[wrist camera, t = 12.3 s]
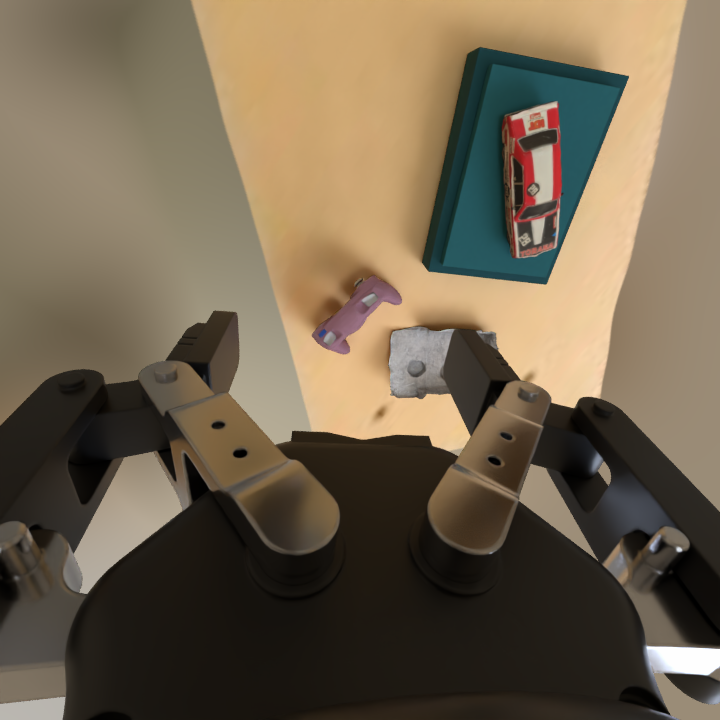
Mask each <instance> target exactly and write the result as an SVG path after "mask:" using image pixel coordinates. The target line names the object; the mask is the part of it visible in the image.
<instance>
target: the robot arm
mask: <svg viewBox="0 0 720 720" xmlns="http://www.w3.org/2000/svg"><path fill="white" fill-rule="evenodd" d="M238 364H239V334H238V317H237V313H236V312H227V311H213V313H212V315H211V316H210V318H209V320H208V321H207V323H197V324H195V325H193V326H192V327H190V328H188V329H187V330H186V331H185V333H184V334H183V336H182V338H181V339H180V340H179V341H178V344H177V345H176V346H175V347H174V349H173V350H172V352H171V353H170V355H169V356H168V357H167V359H166V360H165V361H161V362H157V363H154V364H151V365H149V366H147V367H145V368H144V369H142V370H141V372H140V373H139V375H138V380H135V381H129V382H122V383H114V384H105V380H104V377H103V375H102V374H101V373H99V372H97V371H94V370H85V369H81V370H72V371H67V372H63V373H60V374H57V375H55V376H53V377H51V378H49V379H47V380H46V381H44V382H43V383H42V384H41V385H40V386H39V387H38V388H37V389H36V390H35V391H34V392H33V393H32V394H31V395H30V397H28V398H27V399H26V400H25V401H24V402H23V403H22V404H21V405H20V406H19V407H18V408H17V409H16V411H14V412H13V413H12V415H10V416H9V418H7V420H5V422H4V423H3V424H2V425H1V426H0V704H3V703H12V702H21V701H30V700H39V699H48V698H56V697H66V698H65V708H64V715H63V720H679V719H677V718H675V717H672V716H671V715H670V713H669V712H668V710H667V707H666V706H665V703H664V701H663V699H662V696H661V694H660V691H659V689H658V686H657V683H656V680H655V677H654V675H653V673H664V674H665V675H666V677H667V678H668V679H669V680H670V681H671V682H672V683H673V684H674V685H675V686H676V687H677V688H679V689H680V690H681V691H682V692H683V693H685V694H687V695H688V696H689V697H691V698H693V699H695V700H697V701H699V702H702V703H706V704H717V703H720V512H719V511H718V510H717V509H716V508H715V506H713V504H712V503H711V502H710V501H709V500H708V499H707V498H706V497H705V496H704V495H703V494H702V493H701V492H700V491H699V490H698V489H697V488H696V487H695V486H694V485H693V484H692V483H691V482H690V481H689V479H688V478H687V477H686V476H685V475H684V474H683V473H682V472H681V471H680V470H679V469H678V468H677V467H676V466H675V465H674V464H673V463H672V462H671V461H670V460H669V459H668V458H667V457H666V456H665V455H664V454H663V453H662V452H661V451H660V449H659V448H658V447H657V446H656V445H655V444H654V443H653V442H652V441H651V440H650V439H649V438H648V437H647V436H646V435H645V434H644V433H643V432H642V431H641V430H640V429H639V428H638V427H637V426H636V425H635V424H634V422H633V421H632V420H631V419H630V418H629V417H628V416H627V415H626V414H625V413H624V412H623V411H622V410H621V409H619V408H618V407H616V406H615V405H613V404H611V403H609V402H607V401H604V400H602V399H598V398H594V397H583V398H580V399H579V400H578V402H577V404H576V406H575V408H570V407H566V406H562V405H558V404H554V403H551V397H550V395H549V394H548V392H546V391H545V390H544V389H543V388H541V387H539V386H537V385H535V384H533V383H530V382H526V381H521V380H520V379H519V377H518V376H517V375H516V373H515V372H514V371H513V369H512V368H511V367H510V366H508V363H507V362H506V360H504V358H503V357H502V355H501V354H500V353H499V351H498V350H496V349H495V348H493V347H492V346H491V345H489V344H488V343H485V342H484V341H483V340H482V338H481V337H480V336H479V334H478V333H477V331H475V330H466V329H455V330H454V331H453V333H452V336H451V340H450V343H449V347H448V351H447V355H446V358H445V362H444V367H443V376H444V380H445V382H446V385H447V387H448V389H449V391H450V393H451V395H452V397H453V399H454V402H455V404H456V406H457V408H458V410H459V412H460V414H461V417H462V419H463V421H464V423H465V425H466V427H467V429H468V431H469V434H470V436H471V437H470V439H469V441H468V442H467V444H466V445H465V447H464V449H463V450H462V452H461V454H460V455H459V456H457V455H455V454H453V453H451V452H449V451H446V450H444V449H441V448H437V447H434V446H432V444H431V441H430V438H429V436H413V435H392V436H386V437H380V438H373V439H367V440H360V439H355V438H351V437H346V436H342V435H337V434H333V433H328V432H306V431H292V438H291V441H289V442H284V443H280V444H276V445H275V444H274V443H273V442H272V441H271V440H270V439H269V438H268V436H267V435H266V434H265V433H264V432H263V431H262V430H261V429H260V428H259V426H258V425H257V424H256V423H255V422H254V421H253V420H252V419H251V418H250V417H249V415H248V414H247V413H246V412H245V411H244V410H243V409H242V408H241V407H240V405H239V404H238V403H237V402H236V401H235V400H234V399H233V398H232V397H231V396H230V394H229V393H228V392H229V390H230V387H231V384H232V381H233V379H234V376H235V373H236V371H237V368H238ZM153 451H154V454H155V456H156V458H157V459H158V461H159V463H160V465H161V467H162V468H163V470H164V472H165V474H166V476H167V477H168V479H169V481H170V483H171V484H172V486H173V488H174V490H175V492H176V493H177V496H178V498H179V500H180V503H181V506H182V510H183V511H182V512H181V513H179V514H178V515H177V516H175V517H174V518H173V519H172V520H170V521H169V522H168V523H167V524H165V525H164V526H163V527H162V528H160V529H159V530H158V531H157V532H155V533H154V534H152V535H151V536H150V537H149V538H147V539H146V540H145V541H143V542H142V543H141V544H140V545H138V546H137V547H136V548H135V549H133V550H132V551H131V552H129V553H128V554H127V555H126V556H124V557H123V558H122V559H120V560H119V561H118V562H117V563H116V564H114V565H113V566H112V567H111V568H110V569H108V571H106V573H105V574H104V575H103V576H102V577H101V578H100V579H99V580H98V581H97V583H96V584H95V585H94V586H93V587H92V589H91V590H90V591H89V593H88V594H83V593H79V592H80V589H81V586H82V573H81V571H80V568H79V566H78V563H77V561H76V559H75V557H74V552H75V550H76V548H77V547H78V545H79V543H80V541H81V539H82V537H83V535H84V533H85V531H86V529H87V527H88V525H89V524H90V522H91V520H92V518H93V516H94V514H95V512H96V510H97V508H98V507H99V505H100V503H101V501H102V499H103V497H104V495H105V493H106V491H107V489H108V487H109V486H110V484H111V482H112V480H113V478H114V476H115V474H116V472H117V470H118V468H119V466H120V465H121V463H122V461H123V458H124V457H128V456H133V455H138V454H143V453H148V452H153ZM603 461H605V463H606V464H607V465H608V467H609V469H610V472H611V482H610V484H609V486H608V485H607V484H606V482H605V481H604V479H603V478H602V477H601V475H600V474H599V472H598V469H599V468H600V466H601V465H602V463H603ZM530 464H533V465H537V466H541V467H544V468H546V469H547V471H548V473H549V475H550V477H551V479H552V480H553V482H554V484H555V486H556V487H557V489H558V491H559V493H560V494H561V496H562V498H563V499H564V501H565V503H566V505H567V507H568V508H569V510H570V512H571V514H572V515H573V517H574V519H575V520H576V522H577V524H578V525H579V527H580V529H581V531H582V533H583V535H584V536H585V538H586V540H587V542H588V543H589V545H590V547H591V549H592V550H593V552H594V554H595V556H596V557H597V559H598V561H599V562H598V561H597V560H596V559H595V558H593V557H592V556H591V555H589V554H588V553H587V552H586V551H584V550H583V549H581V548H580V547H579V546H577V545H576V544H575V543H574V542H572V541H571V540H570V539H568V538H567V537H565V536H564V535H563V534H562V533H560V532H559V531H558V530H556V529H555V528H554V527H553V526H551V525H550V524H549V523H547V522H546V521H545V520H543V519H542V518H541V517H539V516H538V515H537V514H535V513H534V512H533V511H531V510H530V509H529V508H527V507H526V506H525V505H524V504H522V503H521V502H520V501H519V495H520V492H521V490H522V487H523V484H524V481H525V478H526V476H527V473H528V470H529V467H530Z"/></svg>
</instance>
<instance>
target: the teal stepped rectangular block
mask: <svg viewBox="0 0 720 720" xmlns="http://www.w3.org/2000/svg"><path fill="white" fill-rule="evenodd" d="M628 78H629V76H625V75H620V74H615V73H610V72H605V71H600V70H595V69H589V68H584V67H579V66H574V65H569V64H564V63H559V62H553V61H548V60H543V59H538V58H533V57H528V56H523V55H518V54H512V53H507V52H502V51H497V50H492V49H487V48H482V47H479V48H478V49H476V50H474V51H472V52H470V53H468V55H467V60H466V64H465V69H464V73H463V78H462V82H461V87H460V92H459V96H458V101H457V105H456V110H455V114H454V119H453V123H452V128H451V133H450V137H449V142H448V146H447V151H446V155H445V160H444V164H443V169H442V174H441V178H440V183H439V187H438V192H437V196H436V201H435V206H434V210H433V215H432V219H431V224H430V228H429V233H428V237H427V242H426V247H425V251H424V256H423V260H422V263H423V265H424V266H425V267H426V269H427V270H428V271H429V272H438V273H447V274H456V275H465V276H474V277H483V278H492V279H501V280H510V281H519V282H528V283H537V284H547V282H548V279H549V277H550V274H551V272H552V269H553V267H554V264H555V262H556V259H557V257H558V254H559V252H560V249H561V247H562V244H563V242H564V239H565V237H566V234H567V232H568V229H569V227H570V224H571V221H572V219H573V216H574V214H575V211H576V209H577V206H578V204H579V201H580V199H581V196H582V194H583V191H584V189H585V186H586V184H587V181H588V179H589V176H590V174H591V171H592V169H593V166H594V164H595V161H596V159H597V156H598V154H599V151H600V149H601V146H602V144H603V141H604V138H605V136H606V133H607V131H608V128H609V126H610V123H611V121H612V118H613V116H614V113H615V111H616V108H617V106H618V103H619V101H620V98H621V96H622V93H623V91H624V88H625V86H626V83H627V81H628ZM551 101H558V103H559V108H558V112H559V122H560V135H561V136H560V149H561V162H562V189H561V193H564V194H563V196H561V197H560V214H559V232H558V242H557V243H558V244H557V247H556V248H554V249H551V250H549V251H546V252H543V253H541V254H539V255H537V256H536V257H527V258H516V259H515V258H512V256H511V253H510V245H509V243H508V240H507V237H506V236H507V224H506V216H505V215H506V212H505V191H504V168H503V167H504V163H503V158H502V148H503V143H502V124H503V119H504V116H505V115H506V114H510V113H514V112H517V111H520V110H524V109H527V108H530V107H533V106H536V105H542V104H545V103H548V102H551Z"/></svg>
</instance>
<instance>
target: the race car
mask: <svg viewBox="0 0 720 720" xmlns="http://www.w3.org/2000/svg"><path fill="white" fill-rule="evenodd" d="M558 108H559V103H558V101H551V102H548V103H545V104H542V105H536V106H533V107H530V108H527V109H524V110H520V111H517V112H514V113H510V114H506V115H505V116H504V119H503V124H502V143H503V148H502V158H503V163H504V167H503V168H504V191H505V212H506V215H505V216H506V224H507V236H506V237H507V240H508V243H509V245H510V253H511V256H512V258H515V259H516V258H527V257H536V256H537V255H539V254H541V253H543V252H546V251H549V250H551V249H554V248H556V247H557V244H558V243H557V242H558V232H559V214H560V197H561V196H563V194H564V193H561V189H562V162H561V149H560V136H561V135H560V122H559V112H558Z"/></svg>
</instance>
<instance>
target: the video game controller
mask: <svg viewBox="0 0 720 720" xmlns="http://www.w3.org/2000/svg"><path fill="white" fill-rule="evenodd" d="M362 280H363V278H361V279H358V280H357V281H356V282H355V285H354V287H356V286H357V285H358V286H357V289H356V290H355V292H354V293H353V294H352V295H351V297H350V299H351V300H349V301H348V302H347V303H346V304H345V305H344V306H343V307H342V308H341V309H340V310H339V311H337V312H336V313H335V314H334V315H333V316H331V317H330V318H328V319H327V320H326V321H324V322H323V323H322V324H321V325H320V326H319V327H318V328H317V329H316V330H315V331H314V332H313V334H312V337H313V338H314V339H315V340H316V342H317V343H318V344H320V345H321V346H322V347H324V348H326V349H328V350H331V351H334V352H337V353H340V354H348V353H349V352H350V347H349V345H348V343H347V342H346V341H345V338H346V337H347V336H348V335H350V334H352V333H354V332H356V331H357V330H358V329H359V328H361V326H362V325H363V324H364V322H365V320H366V318H367V317H368V316H369V315H370V314H371V313H372V312H373V311H374V310H375V309H376V308H377V307H378V306H379V305H380V304H381V303H382V302H383V301H384V302H388V303H391V304H393V305H400V304H401V303H402V299H401V296H400V294H399V293H398V291H397V290H396V289H395V288H393V287H392V286H391V285H389V284H388V283H386V282H384V281H382V280H380V279H378V278H377V277H376V276H375V275H373V276H371V277H370V278H368V279H367V280H366V281H362Z"/></svg>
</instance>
